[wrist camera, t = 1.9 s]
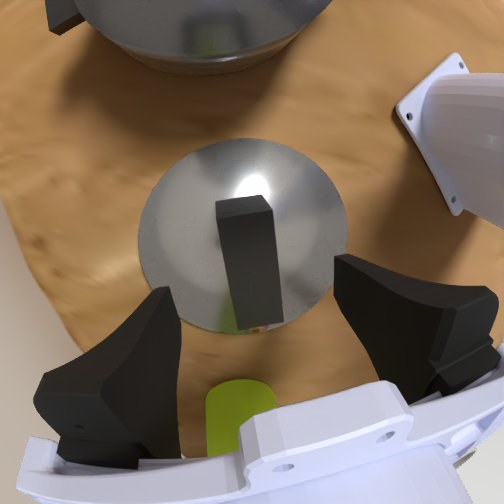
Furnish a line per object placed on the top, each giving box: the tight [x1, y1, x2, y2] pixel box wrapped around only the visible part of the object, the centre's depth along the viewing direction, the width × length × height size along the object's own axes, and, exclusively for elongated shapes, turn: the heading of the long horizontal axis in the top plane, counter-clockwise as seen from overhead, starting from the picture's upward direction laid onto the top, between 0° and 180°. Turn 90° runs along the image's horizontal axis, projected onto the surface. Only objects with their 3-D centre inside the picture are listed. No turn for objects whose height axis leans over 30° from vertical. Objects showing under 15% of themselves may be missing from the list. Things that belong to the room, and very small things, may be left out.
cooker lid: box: [138, 138, 348, 334], centre depth 15 cm, size 12×12×4 cm
